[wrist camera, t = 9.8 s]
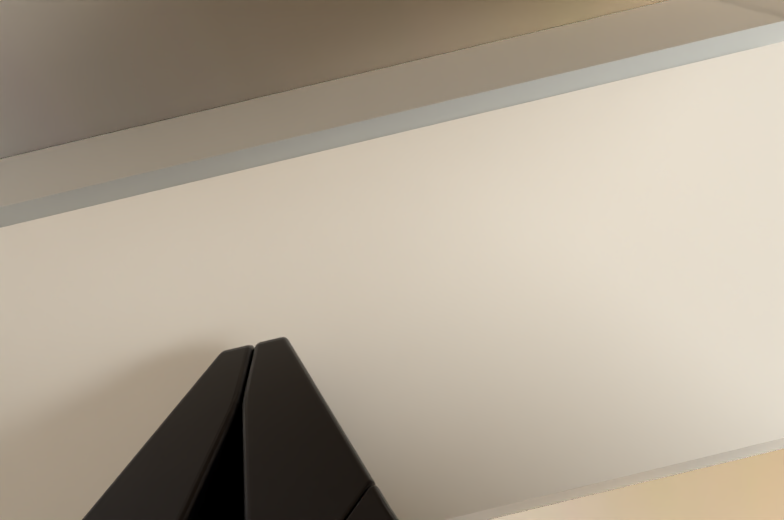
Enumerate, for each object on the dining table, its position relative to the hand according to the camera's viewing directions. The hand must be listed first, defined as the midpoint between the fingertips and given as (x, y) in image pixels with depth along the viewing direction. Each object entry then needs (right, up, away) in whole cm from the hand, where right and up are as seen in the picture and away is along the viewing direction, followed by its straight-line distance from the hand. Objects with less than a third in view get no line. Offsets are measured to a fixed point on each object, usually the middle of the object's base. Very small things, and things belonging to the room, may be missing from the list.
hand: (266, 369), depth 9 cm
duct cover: (0, 0, +1) cm, 1 cm away
